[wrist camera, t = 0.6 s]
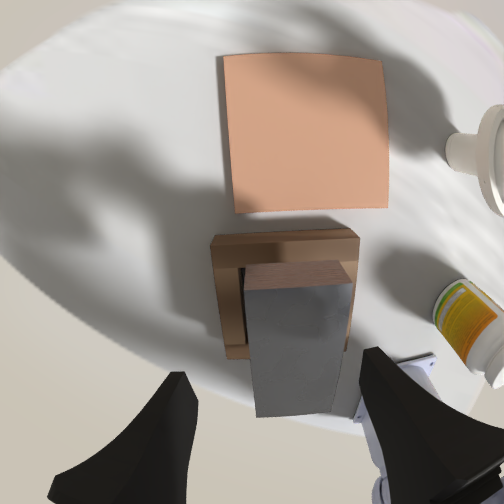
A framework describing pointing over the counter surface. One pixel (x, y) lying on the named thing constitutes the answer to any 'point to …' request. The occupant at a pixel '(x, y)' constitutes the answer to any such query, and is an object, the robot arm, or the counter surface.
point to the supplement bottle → (473, 329)
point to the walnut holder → (271, 251)
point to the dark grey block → (296, 334)
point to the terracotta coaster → (307, 132)
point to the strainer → (482, 156)
